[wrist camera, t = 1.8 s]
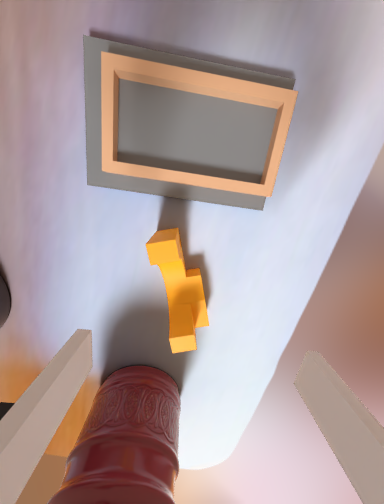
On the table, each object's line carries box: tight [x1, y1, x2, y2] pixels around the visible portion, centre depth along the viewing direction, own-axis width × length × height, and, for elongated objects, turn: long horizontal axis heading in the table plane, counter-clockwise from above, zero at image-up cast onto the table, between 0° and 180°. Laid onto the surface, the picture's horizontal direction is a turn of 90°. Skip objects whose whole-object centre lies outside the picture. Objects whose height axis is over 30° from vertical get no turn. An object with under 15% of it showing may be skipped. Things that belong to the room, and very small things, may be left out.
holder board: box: [83, 35, 298, 211], centre depth 17 cm, size 19×12×2 cm, turn 82°
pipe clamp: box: [146, 228, 209, 353], centre depth 20 cm, size 12×4×6 cm, turn 9°
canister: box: [47, 366, 181, 504], centre depth 20 cm, size 13×13×18 cm
